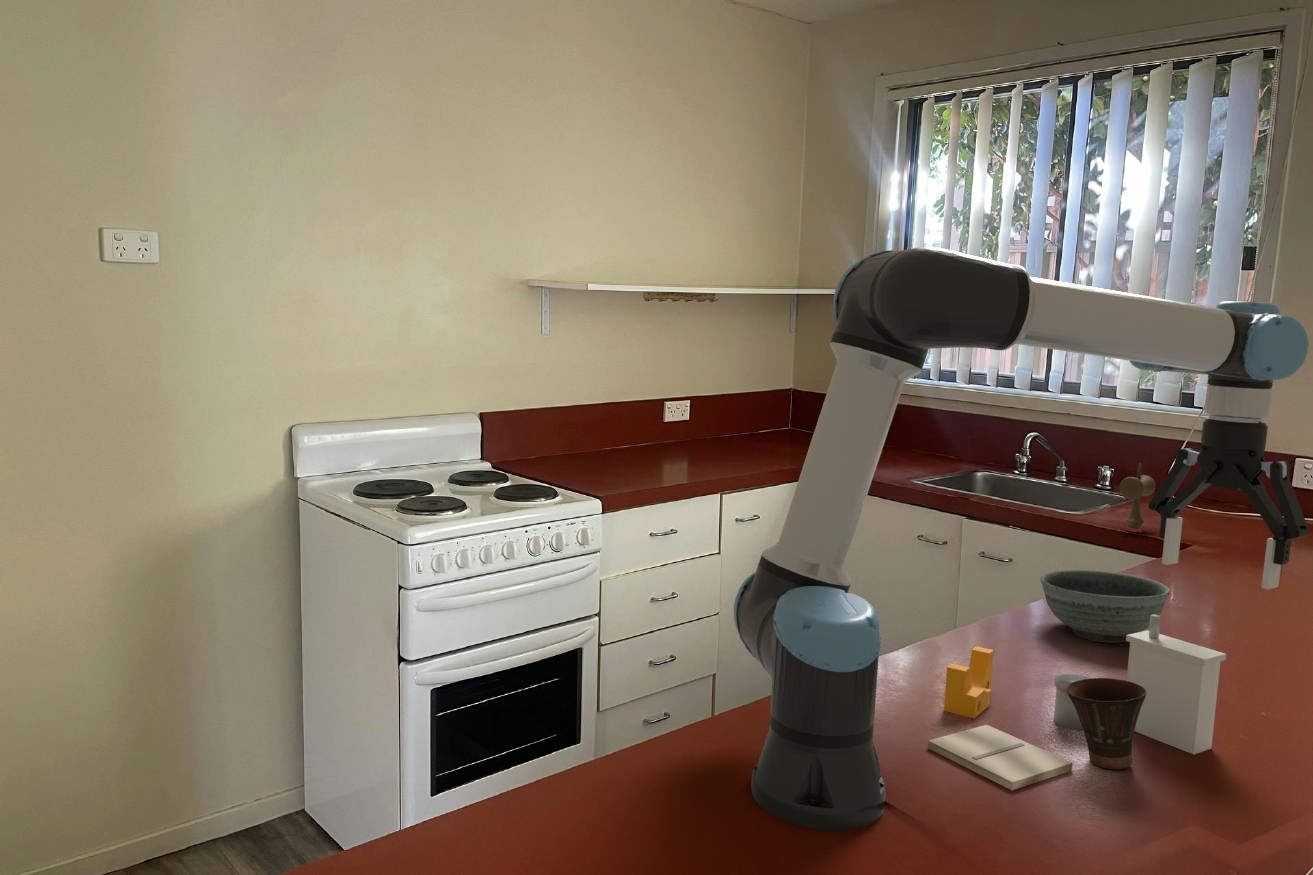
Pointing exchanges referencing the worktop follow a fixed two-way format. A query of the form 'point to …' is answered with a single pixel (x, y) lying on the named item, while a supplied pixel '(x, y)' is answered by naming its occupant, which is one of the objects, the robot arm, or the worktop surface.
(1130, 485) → the kendama
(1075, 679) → the grey knob
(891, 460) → the worktop surface
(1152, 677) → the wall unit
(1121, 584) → the bowl
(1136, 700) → the cup
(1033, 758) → the board
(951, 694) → the yellow shaft support bracket
